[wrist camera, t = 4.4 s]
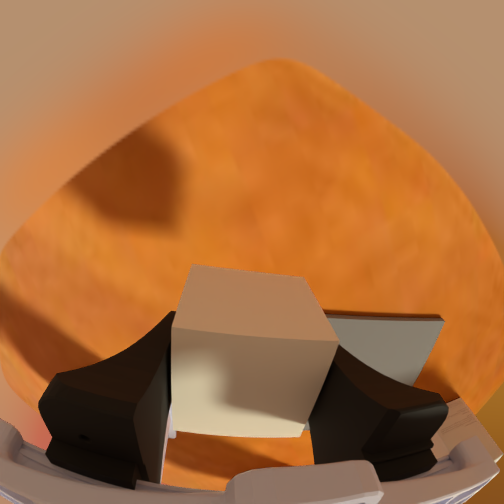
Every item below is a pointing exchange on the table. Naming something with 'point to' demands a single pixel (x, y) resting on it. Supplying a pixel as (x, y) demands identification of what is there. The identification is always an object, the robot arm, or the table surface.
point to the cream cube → (247, 353)
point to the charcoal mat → (388, 343)
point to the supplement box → (461, 431)
